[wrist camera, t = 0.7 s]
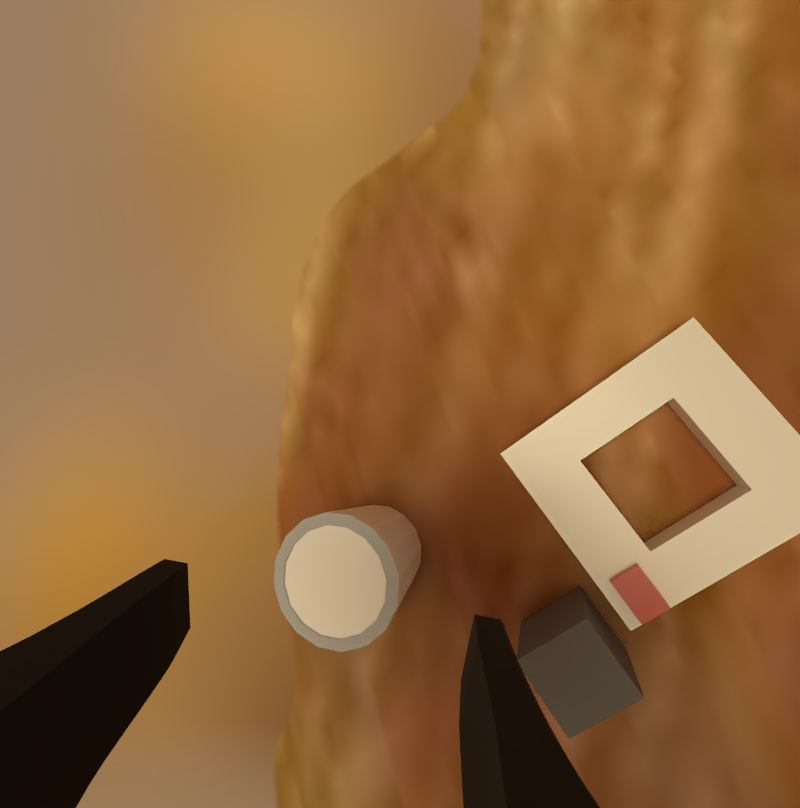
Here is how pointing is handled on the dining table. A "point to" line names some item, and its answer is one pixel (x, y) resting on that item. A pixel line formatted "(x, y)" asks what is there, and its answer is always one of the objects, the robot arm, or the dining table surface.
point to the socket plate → (702, 529)
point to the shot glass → (346, 574)
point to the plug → (576, 663)
